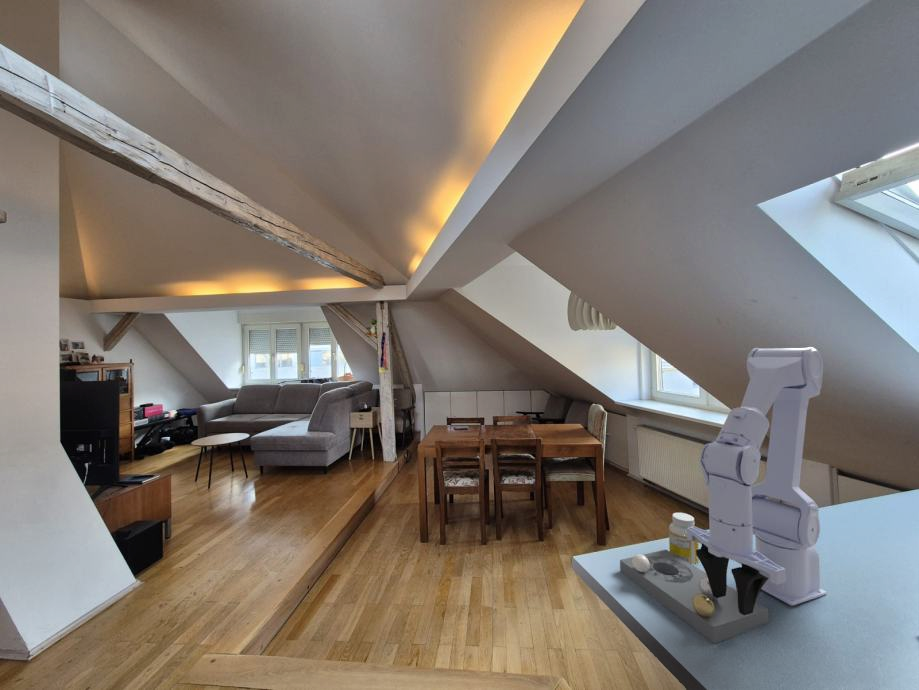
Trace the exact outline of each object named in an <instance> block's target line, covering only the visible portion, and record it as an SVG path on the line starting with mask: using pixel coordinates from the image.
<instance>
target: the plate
mask: <svg viewBox="0 0 919 690" xmlns="http://www.w3.org/2000/svg"><path fill="white" fill-rule="evenodd" d="M643 555H644V556H645V557H646V558H647V559H648V561H649V564H650V566H649V569H648V570H647V571H646V572H640V571H638V570H636V569H635V568H634V566H633V563H632V559H633V557H634V556H631V557H627V558H622V559H620V560H619V571H620V573H621V574H623V575H624V576H625V577H627V578H628V579H629V580H630V581H632V582H633V583H634V584H636V585H637V586H638V587H640V589H642V590H643V591H644V592H646V593H647V594H648V595H650V596H651V597H652V598H653V599H654V600H656V601H657V602H659V603H660V604H661V605H663V606H664V607H665V608H666V609H668V610H669V611H671V612H672V613H673V614H674V615H676V616H677V617H678V618H680V619H681V620H682V621H684V622H685V623H686V624H688V625H689V626H690V627H692V628H693V629H694V630H696V631H697V632H698V633H699V634H701V635H702V636H703V637H705V638H706V639H707V640H709V642H711V643H713V644H718V643H720V642H723V641H727V640H729V639H733V638H734V637H736V636H739V635H742V634H745V633H746V632H749V631H751V630H753V629H756V628H758V627H761V626H764V625H765V624H768V623H769V622H770V621H769V608H767V607H765V606H764V605H762V604H760V603H758V602H757V601H756V602H755V605H754V609H753V613H751V614H747V615H742V614H741V613H739V609H738V594H737V589H734V588H732V587H731V586H730V585H727V590H726V596H723V597H720V598H718V599H715V600H712V599H711V600H712V602H713V604H714V607H715V611H714V614H713V615H712V616H710V617H704V616H701V615H700V614H698V613H697V612H696V611H695V609H694V607H693V603H692V601H693V598H694V596H696V595H698V594H702V593H701V592H700V589H699V581H700V580H701V579H702V578H705V577H707V574H706V572H705V570H704V571H703V570H702V569H700V568H698V567H697V566H696V565H692V564H690V563H688V562H687V561H685V560H683V559H681V558H680V557H678V556H676V555H675V554H673V553H671V552H670V550H668V549H662V550H658V551H653V552H648V553H643ZM667 573H668V575H667ZM670 574H671V575H670Z"/></svg>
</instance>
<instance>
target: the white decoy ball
mask: <svg viewBox="0 0 919 690" xmlns="http://www.w3.org/2000/svg"><path fill="white" fill-rule="evenodd" d="M632 557H633V559H632V563H633V566H634V568H635V569H636V570H638V571H640V572H646V571H647V570H648V569H649V566H650V564H649V561H648V559H647V558H646V557H645V556H644V554H641V553H637V554H635V555H634V556H632Z"/></svg>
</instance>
